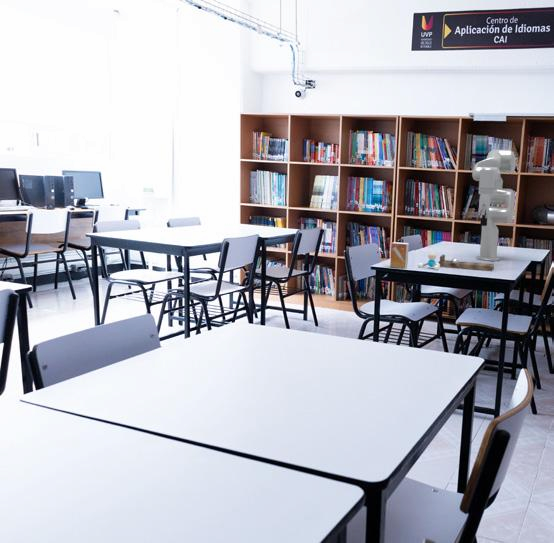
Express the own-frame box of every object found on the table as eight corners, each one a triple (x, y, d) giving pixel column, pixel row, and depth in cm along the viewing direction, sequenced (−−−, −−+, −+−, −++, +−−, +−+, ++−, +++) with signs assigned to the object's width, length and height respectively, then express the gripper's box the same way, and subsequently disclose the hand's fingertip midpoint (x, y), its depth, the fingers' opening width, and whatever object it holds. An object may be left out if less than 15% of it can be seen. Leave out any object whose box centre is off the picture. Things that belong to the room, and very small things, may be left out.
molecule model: (434, 267, 357) (435, 250, 356) (449, 270, 347) (450, 253, 345) (416, 267, 352) (417, 251, 351) (431, 271, 341) (432, 254, 340)
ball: (450, 267, 360) (450, 260, 361) (459, 267, 358) (459, 260, 360) (450, 264, 356) (450, 257, 358) (458, 264, 355) (458, 257, 356)
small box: (389, 267, 348) (391, 242, 346) (392, 266, 353) (393, 241, 351) (405, 268, 345) (406, 244, 343) (407, 267, 351) (409, 242, 348)
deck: (493, 268, 355) (494, 258, 354) (492, 271, 346) (492, 260, 345) (440, 264, 365) (441, 254, 364) (437, 266, 356) (438, 256, 355)
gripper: (480, 190, 359) (477, 223, 362) (477, 191, 345) (474, 226, 349) (494, 190, 356) (492, 224, 359) (492, 192, 342) (489, 227, 346)
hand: (483, 225), depth 354 cm, fingers closed
